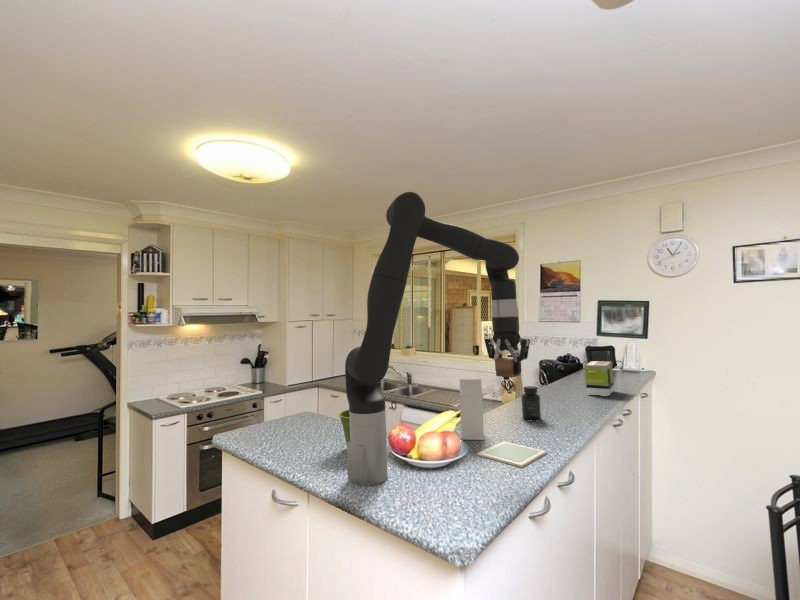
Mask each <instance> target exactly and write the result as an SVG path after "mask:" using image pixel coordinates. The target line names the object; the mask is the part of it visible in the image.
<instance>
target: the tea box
mask: <svg viewBox="0 0 800 600" xmlns="http://www.w3.org/2000/svg"><path fill="white" fill-rule="evenodd" d="M613 371H614V370H613V362H612V361H605V360H604V361H602V360H601V361H599V360H595V361H593V360H591V361H589V362H588V363H586V364H584V373H585V388H586V394H587V393H596V394H607V395H610V394H611V392H612V391H613V390H614V391H615V386H614V372H613ZM611 395H612V394H611ZM611 395H610V396H611Z"/></svg>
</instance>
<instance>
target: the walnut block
mask: <svg viewBox="0 0 800 600" xmlns="http://www.w3.org/2000/svg"><path fill="white" fill-rule="evenodd" d="M495 362H496V370H495V376H496V377H502V378H515V377H519V376H521V375H522V372H521V373H520V375H514V364H513V362H514V360H513V357H512V356H502V357H501V358H497V359H495V360H494V363H495Z"/></svg>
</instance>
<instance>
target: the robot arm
mask: <svg viewBox="0 0 800 600" xmlns="http://www.w3.org/2000/svg"><path fill="white" fill-rule="evenodd" d="M385 216H386V222H387V223H388V225H389V226H390V228H389V233H388V236H387V240H386V242H385V244H384V247H383V248H382V250H381V253H380V255H379V257H378V259H377V262H376V264H375V267H374V269H373V272H372V275H371V279H370V283H369V286H368V292H367V298H366V299H367V300H366V304H367V305H366V308H367V309H366V310H367V311H366V312H367V313H366V314H367V317H366V318H367V319H366V327H365V332H364V335H363V338H362V342H361V344H360V346H356V347H354V348H352V349H351V350H350V351H349V353H348V354H347V356H346V359H345V365H344V367H345V368H344V372H345V373H344V374H345V376H344V377H345V390H346V391H345V392H346V398H347V402H348V410H349V415H350V441H349V442H347V444H346V453H347V454H346V457H347V480H348V481H349V482H350V483H353V484H356V485H358V486H361V487H367V486H375V485H378V484H381V483H384V482H386V480H388V447H387V419H386V418H387V417H386V415H387V414H386V399H385V396H384V394H383V393H382V389H381V384H380V382H381V381H382V380H384V377H385V376H386V374H387V372H388V369H389V366H390V365H389V364H390V357H391V351H392V350H391V349H392V344H393V337H394V331H395V329H396V324H397V321H398V317H399V312H400V308H401V306H402V305H401V304H402V302H403V298H404V294H405V291H406V286H407V281H408V277H409V273H410V268H411V264H412V259H413V254H414V253H413V252H414V248H415V245H416V241H417V238H420V239H423V240H427V241H430V242H433V243H434V244H435V243H436V244H438V245H441V246H444V247H445V248H448V249H450V250H452V251H454V252H457V253H458V254H461V255H463V256H465V257H468V258H469V259H472V260H475V261H484V264H485V265H484V266H485V270H486V274H487V278H488V281H489V284H490V289H491V290H490V293H491V308H490V309H491V323H492V324H491V327H492V333H493V335H492V337H488V338H485V339H484V343H485V348H486V351H487V356H488V358H489V359H492V360H494V367H495V369H494V370H495V371H496V362H495V359H497V358H501V357H504V356H503V355H504V353H505V352H506V351H508V352H509V354H510V355H511V357H513V360H514V362H513V364H514V375H519V376H521V375H520V373H521V374H522V361H524V360H527V359H528V356H529V350H530V343H531V339H530V338H524V337H522V336H521V334H520V320H519V319H520V317H519V305H518V301H517V300H518V299H517V287H516V282H515V280H514V279H511V278H510V276H509V272H508V271H510V270H513V269H514V268H515V267H517V265H518V264H519V261H520V258H519V257H520V255H519V253H518V251H517V250H516V249H515V248H514V247H513V246H512V245H510V244H508V243H505V242H502V241H498V240H496V239H491V238H487V237H484V236H483V235H481V234H479V233H477V232H474V231H473V230H470V229H468V228H466V227H463V226H459V225H456V224H455V225H454V224H451V223H445V222H441V221H438V220H435V219H433V218H430V217H428V216H427V215H426V204H425V202H424V200H423V198H422V197H421V195H419V193H416V192H413V191H406V192H403V193H401V194H399V195H398V196H396V197H395V198H394V199H393V201H392V202H391V204H390V205H389V207H387V210H386V214H385ZM519 345H520V348H519Z"/></svg>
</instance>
